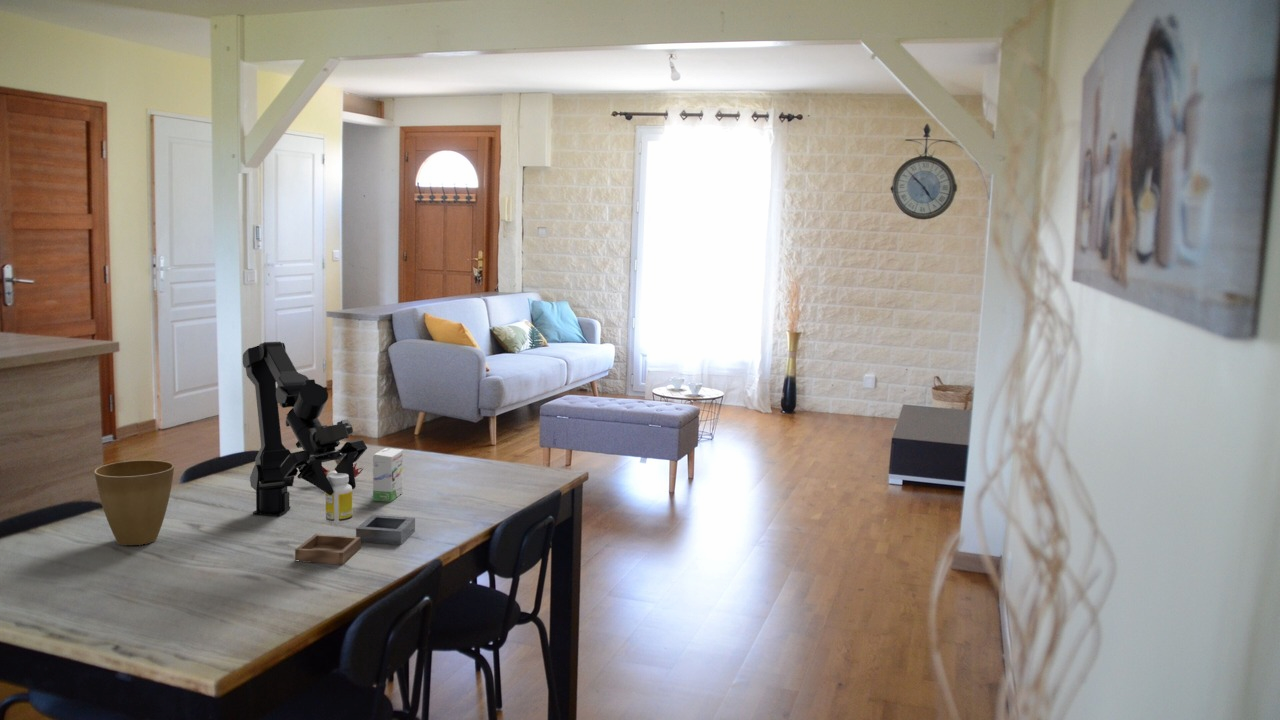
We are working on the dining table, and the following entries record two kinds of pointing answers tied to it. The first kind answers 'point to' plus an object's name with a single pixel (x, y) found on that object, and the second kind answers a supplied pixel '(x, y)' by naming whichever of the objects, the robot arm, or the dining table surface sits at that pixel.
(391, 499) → the ink box
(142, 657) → the dining table surface
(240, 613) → the dining table surface
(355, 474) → the figurine
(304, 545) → the walnut tray
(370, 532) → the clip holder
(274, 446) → the robot arm
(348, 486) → the supplement bottle
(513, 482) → the dining table surface
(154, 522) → the plant pot
